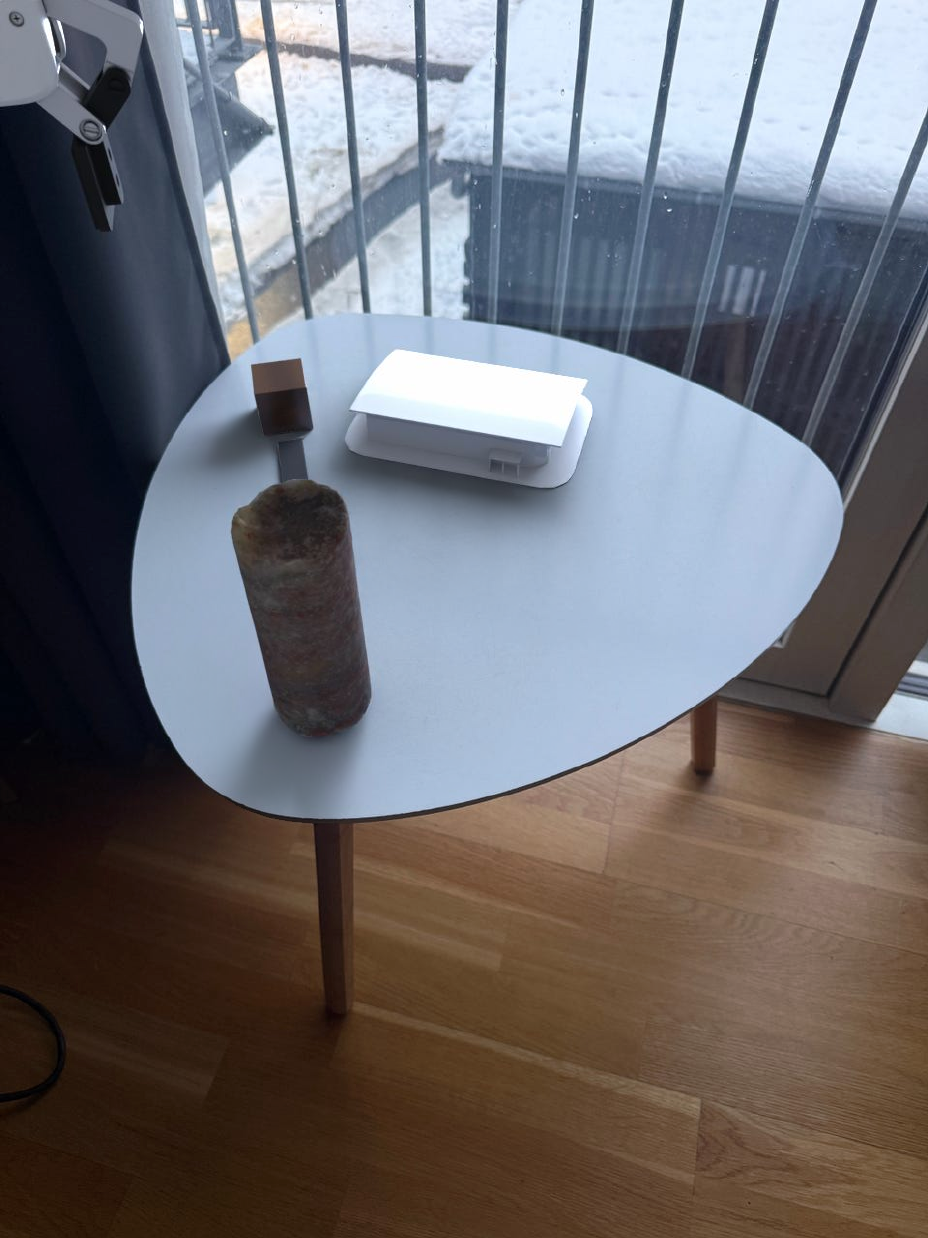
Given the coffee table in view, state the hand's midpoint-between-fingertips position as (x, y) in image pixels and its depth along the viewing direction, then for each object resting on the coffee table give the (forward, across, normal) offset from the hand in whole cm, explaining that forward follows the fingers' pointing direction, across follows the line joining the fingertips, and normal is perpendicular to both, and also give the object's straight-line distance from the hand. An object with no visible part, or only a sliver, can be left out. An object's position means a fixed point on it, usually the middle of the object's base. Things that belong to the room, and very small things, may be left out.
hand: (4, 228), depth 44 cm
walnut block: (+36, -11, -30) cm, 48 cm away
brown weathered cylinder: (+36, -11, +6) cm, 38 cm away
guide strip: (+36, -11, -13) cm, 40 cm away
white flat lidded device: (+36, -29, -26) cm, 53 cm away
